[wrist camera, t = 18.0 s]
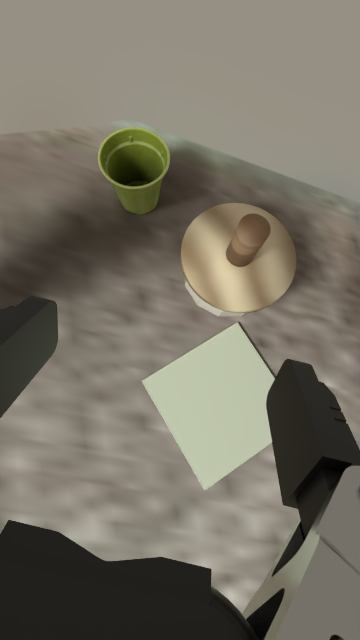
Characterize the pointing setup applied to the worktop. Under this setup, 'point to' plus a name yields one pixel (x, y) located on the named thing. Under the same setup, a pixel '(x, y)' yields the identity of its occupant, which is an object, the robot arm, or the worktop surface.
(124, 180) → the plant pot
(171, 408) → the mat
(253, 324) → the worktop surface
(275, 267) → the lid
